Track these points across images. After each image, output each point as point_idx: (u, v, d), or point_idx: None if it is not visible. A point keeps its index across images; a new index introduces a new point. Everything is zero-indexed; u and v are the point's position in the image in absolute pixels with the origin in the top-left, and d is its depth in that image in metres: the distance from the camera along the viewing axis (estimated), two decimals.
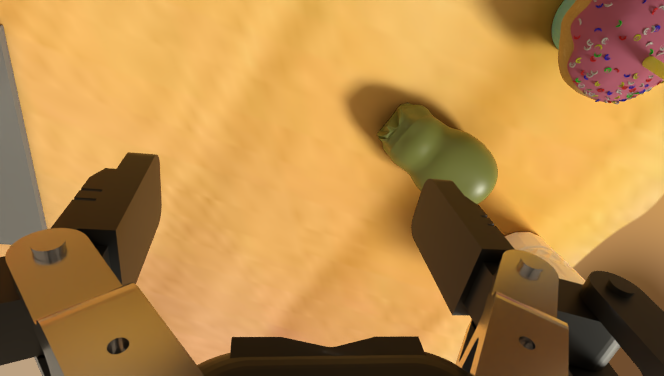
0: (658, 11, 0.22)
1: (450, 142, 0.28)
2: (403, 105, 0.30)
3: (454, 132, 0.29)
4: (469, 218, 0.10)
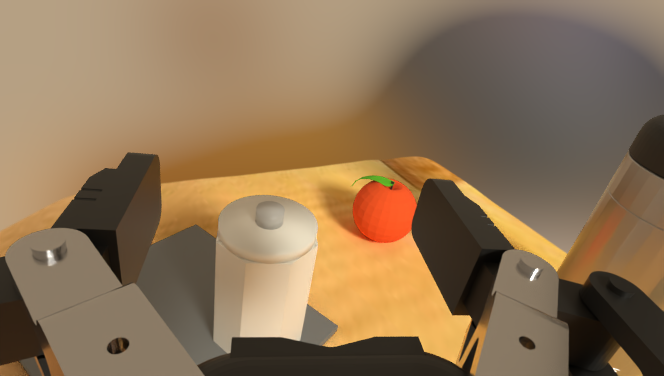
0: None
1: None
2: None
3: None
4: (469, 218, 0.10)
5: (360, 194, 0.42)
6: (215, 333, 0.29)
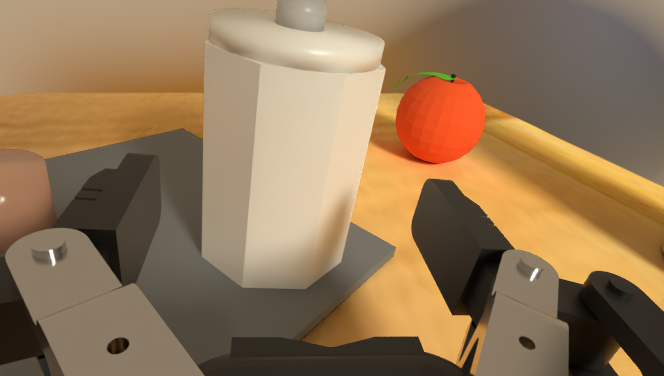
0: None
1: None
2: None
3: None
4: (469, 218, 0.10)
5: (408, 94, 0.31)
6: (204, 241, 0.17)
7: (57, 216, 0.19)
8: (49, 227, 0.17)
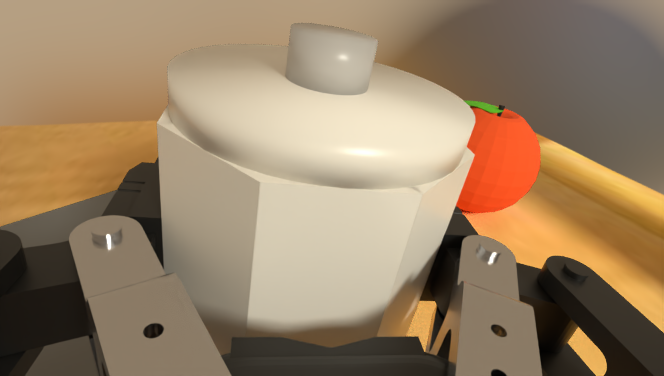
0: None
1: None
2: None
3: None
4: None
5: None
6: None
7: None
8: None
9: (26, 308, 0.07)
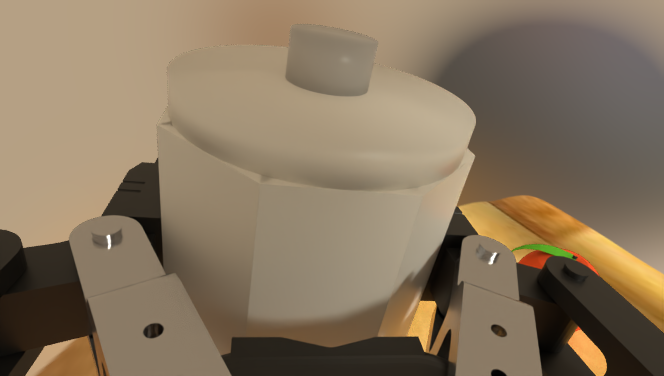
0: None
1: None
2: None
3: None
4: None
5: None
6: None
7: None
8: None
9: (26, 308, 0.07)
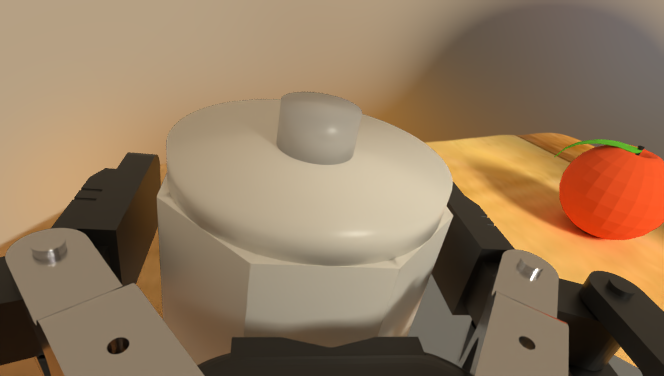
0: None
1: None
2: None
3: None
4: (469, 218, 0.10)
5: (587, 166, 0.28)
6: None
7: None
8: None
9: None
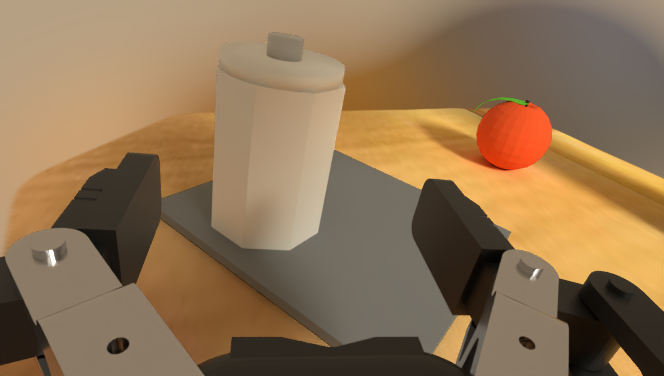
0: None
1: None
2: None
3: None
4: (469, 218, 0.10)
5: (491, 115, 0.39)
6: (214, 214, 0.23)
7: None
8: None
9: None
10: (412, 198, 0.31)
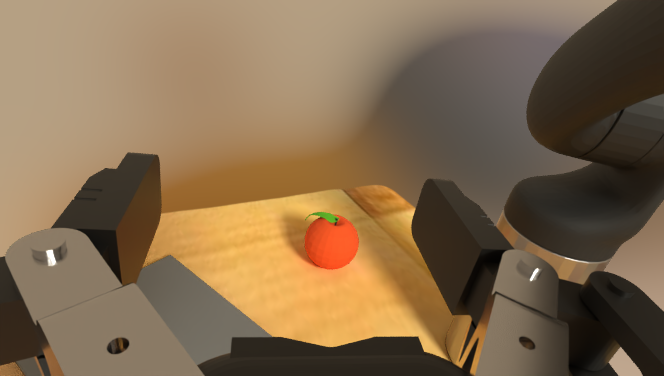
0: None
1: None
2: None
3: None
4: (469, 218, 0.10)
5: (310, 228, 0.50)
6: None
7: None
8: None
9: None
10: (216, 313, 0.42)
